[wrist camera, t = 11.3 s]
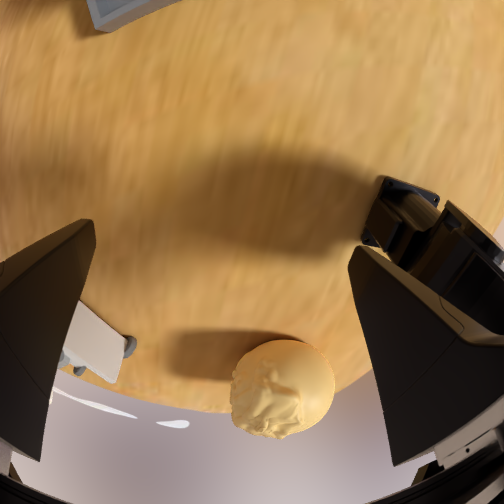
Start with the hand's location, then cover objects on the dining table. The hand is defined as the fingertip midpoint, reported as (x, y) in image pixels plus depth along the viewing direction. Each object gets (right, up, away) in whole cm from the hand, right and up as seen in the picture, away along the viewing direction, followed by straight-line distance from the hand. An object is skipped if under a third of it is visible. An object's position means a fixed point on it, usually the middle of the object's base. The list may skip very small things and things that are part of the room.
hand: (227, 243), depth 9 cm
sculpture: (+4, -13, +25) cm, 29 cm away
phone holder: (-24, -10, +23) cm, 34 cm away
